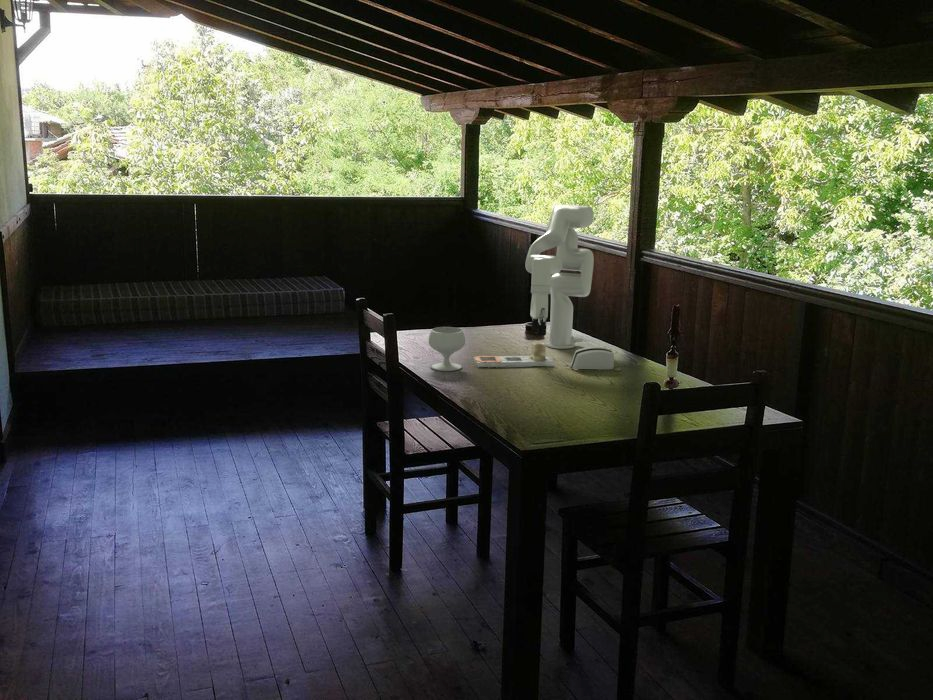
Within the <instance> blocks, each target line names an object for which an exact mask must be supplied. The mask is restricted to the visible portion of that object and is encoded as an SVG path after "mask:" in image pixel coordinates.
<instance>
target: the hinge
mask: <svg viewBox="0 0 933 700" xmlns="http://www.w3.org/2000/svg"><path fill="white" fill-rule="evenodd" d="M614 361H615V355H614V352H613V350H612V349H610V348H606V347H602V346H588V347H583V348H580V349H577V350H575V351H574V354H573V357H572V360H571V362H570V364H569V368H571V370H572V369H598V370H613V369H614V363H615V362H614Z"/></svg>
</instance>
